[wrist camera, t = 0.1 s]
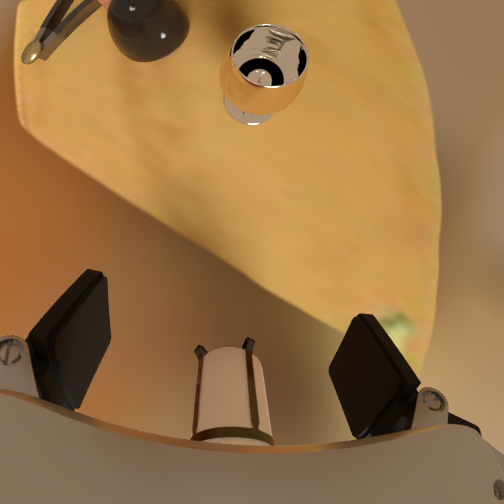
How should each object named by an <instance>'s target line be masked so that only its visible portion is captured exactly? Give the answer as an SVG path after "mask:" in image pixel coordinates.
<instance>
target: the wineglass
mask: <svg viewBox="0 0 504 504" xmlns="http://www.w3.org/2000/svg"><path fill="white" fill-rule="evenodd" d="M308 63H309V55H308V50H307V48H306V45H305V43H304V42H303V40H302V39H301V38H300V37H299V36H298V35H297V34H296V33H295V32H293V31H292V30H290V29H288V28H286V27H284V26H280V25H277V24H259V25H254V26H252V27H249V28H247V29H246V30H244V31H243V32H241V33H240V34H239V35H238V36H237V38H236V39H235V40H234V41H233V43H232V44H231V45H230V47H229V49H228V50H227V52H226V54H225V55H224V57H223V59H222V62H221V65H220V71H219V83H220V87H221V90H222V92H223V94H224V95H225V96H224V104H225V108H226V110H227V112H228V113H229V115H230V116H231V117H232V118H233V119H235V120H236V121H238V122H240V123H242V124H246V125H257V124H261V123H264V122H265V121H267V120H269V119H270V118H271V117H272V116H273V115H274V114H275V113H276V112H279V111H281V110H283V109H285V108H286V107H288V106H289V105H290V104H291V103H292V102H293V101H294V100H295V99H296V98H297V96H298V95H299V93H300V91H301V90H302V88H303V85H304V81H305V78H306V74H307V70H308Z"/></svg>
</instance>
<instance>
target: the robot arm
mask: <svg viewBox="0 0 504 504" xmlns="http://www.w3.org/2000/svg"><path fill="white" fill-rule="evenodd" d="M110 341H111V330H110V318H109V304H108V285H107V278H106V277H104V276H103V273H102V272H100V271H96V270H91V269H87V270H86V271H85V272H84V273H83V274H82V275H81V276H80V277H79V278H78V279H77V280H76V281H75V282H74V283H73V284H72V285H71V286H70V287H69V289H67V291H66V292H65V293H64V294H63V295H62V296H61V297H60V298H59V299H58V300H57V301H56V303H55V304H54V305H53V306H52V307H51V308H50V309H49V310H48V311H47V313H46V314H45V315H44V316H43V318H41V319H40V321H39V322H38V323H37V324H36V325H35V327H34V328H33V329H32V330H31V332H30V333H29V336H28V337H27V339H26V340H24V339H22V338H21V337H19V336H15V335H7V336H4V337H1V338H0V504H504V455H503V454H501V453H500V452H499V451H498V450H496V449H495V448H494V447H493V446H491V445H490V444H489V443H488V442H486V441H485V440H484V439H483V438H482V435H481V431H480V429H479V427H478V426H476V425H474V424H472V423H470V422H468V421H466V420H464V419H462V418H460V417H458V416H455V415H453V414H451V413H449V412H448V402H447V400H446V398H445V396H444V395H443V394H442V393H441V392H439V391H438V390H436V389H434V388H431V387H424V388H422V389H421V390H420V391H419V392H418V391H417V387H418V386H419V385H420V383H421V382H420V380H419V379H418V377H417V376H416V374H415V373H414V372H413V370H412V369H411V367H410V366H409V364H408V363H407V361H406V360H405V358H404V357H403V355H402V354H401V353H400V351H399V350H398V348H397V347H396V346H395V344H394V343H393V341H392V340H391V339H390V337H389V336H388V334H387V333H386V332H385V330H384V329H383V327H382V326H381V325H380V323H379V322H378V321H377V319H376V318H375V317H374V316H373V315H371V314H361V313H360V314H358V315H357V316H356V317H354V318H353V319H352V321H351V323H350V326H349V328H348V330H347V332H346V334H345V336H344V338H343V340H342V342H341V344H340V346H339V349H338V350H337V352H336V354H335V356H334V358H333V360H332V362H331V364H330V366H329V375H330V377H331V380H332V382H333V385H334V388H335V390H336V393H337V395H338V398H339V400H340V403H341V406H342V409H343V411H344V414H345V416H346V419H347V422H348V424H349V427H350V430H351V433H352V435H353V436H354V437H355V438H356V439H357V440H350V441H343V442H334V443H323V444H310V445H291V446H253V445H233V444H220V443H210V442H201V441H193V440H186V439H180V438H174V437H168V436H163V435H158V434H153V433H148V432H144V431H139V430H135V429H131V428H127V427H123V426H120V425H116V424H113V423H109V422H105V421H102V420H99V419H96V418H92V417H90V416H86V415H84V414H80V413H78V412H75V411H74V409H75V408H76V409H79V408H80V406H81V404H82V401H83V399H84V397H85V394H86V392H87V389H88V388H89V386H90V383H91V381H92V379H93V377H94V374H95V373H96V370H97V368H98V366H99V364H100V362H101V360H102V358H103V356H104V354H105V352H106V350H107V348H108V346H109V344H110Z"/></svg>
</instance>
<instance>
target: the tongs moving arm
mask: <svg viewBox="0 0 504 504" xmlns="http://www.w3.org/2000/svg"><path fill="white" fill-rule="evenodd" d="M73 1H74V0H57V1H56V2H55V4H54V6H53V7H52V9H51V10H50V12H49V13H48V15H47V17H46V18H45V20H44V22H43V24H42V25H41V27H40V30H39V32H38V34H37V36H36V38H35V40H37V41H40V42H41V43H43V42H44V41H45V40H46V39H47V37H48V36H49V35H50V34H51V33H52V32H53V30H54V29H55V28H56V27H57V26H58V25H59V23H60V22H61V20H62V18H63V17H64V15H65V14H66V12H67V10H68V9H69V7H70V6H71V4H72V3H73Z"/></svg>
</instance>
